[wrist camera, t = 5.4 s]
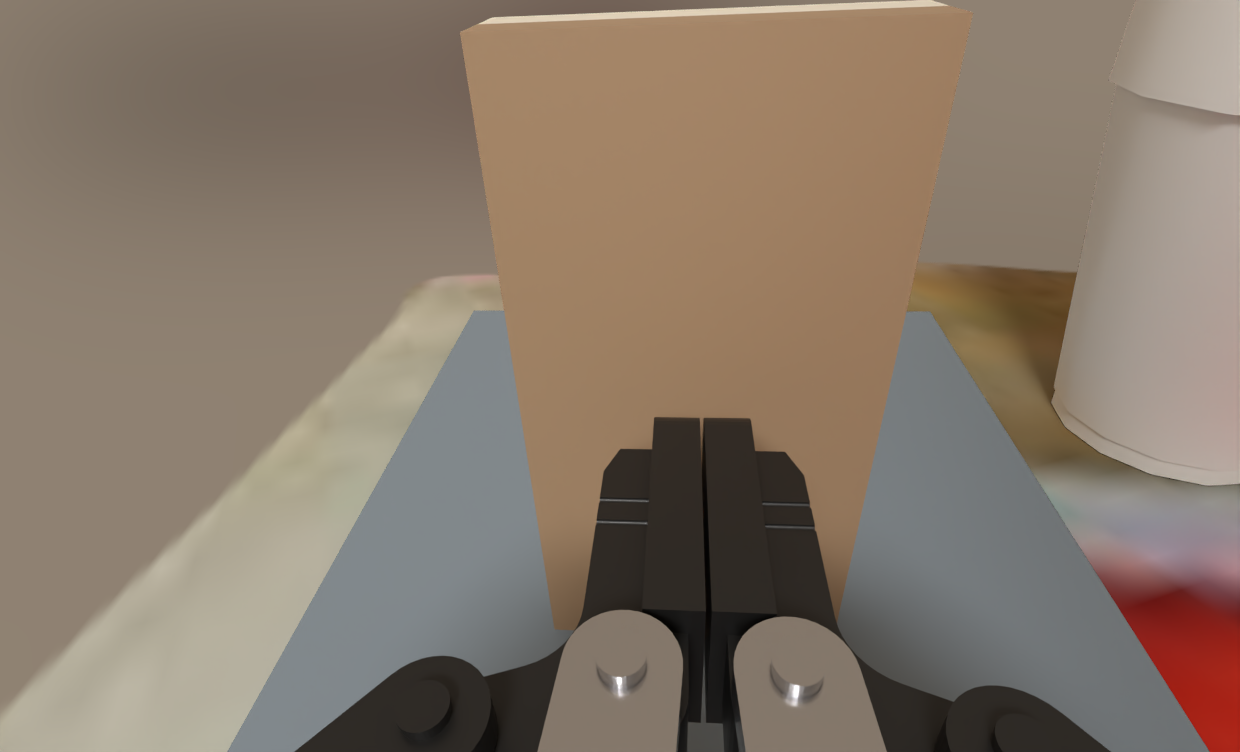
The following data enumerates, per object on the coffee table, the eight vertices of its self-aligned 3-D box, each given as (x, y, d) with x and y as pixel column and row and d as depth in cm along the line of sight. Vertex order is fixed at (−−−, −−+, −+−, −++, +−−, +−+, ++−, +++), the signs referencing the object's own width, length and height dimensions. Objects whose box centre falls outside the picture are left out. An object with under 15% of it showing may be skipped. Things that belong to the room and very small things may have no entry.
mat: (926, 323, 29) (929, 311, 28) (1930, 1975, 6) (2012, 2016, 5) (476, 322, 31) (473, 310, 30) (-185, 1550, 7) (-225, 1560, 7)
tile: (565, 570, 18) (492, 17, 10) (819, 580, 17) (929, -1, 10) (554, 629, 16) (460, 31, 9) (832, 642, 16) (973, 13, 8)
